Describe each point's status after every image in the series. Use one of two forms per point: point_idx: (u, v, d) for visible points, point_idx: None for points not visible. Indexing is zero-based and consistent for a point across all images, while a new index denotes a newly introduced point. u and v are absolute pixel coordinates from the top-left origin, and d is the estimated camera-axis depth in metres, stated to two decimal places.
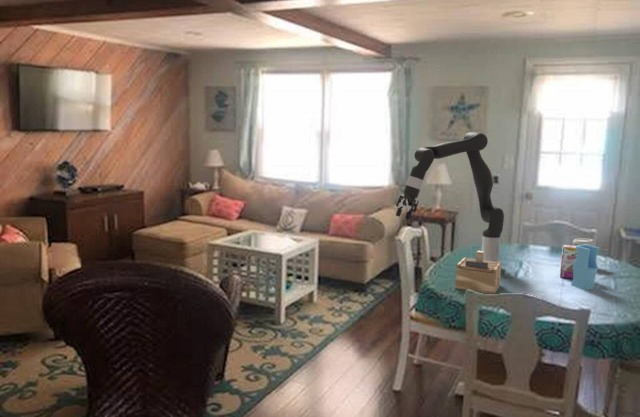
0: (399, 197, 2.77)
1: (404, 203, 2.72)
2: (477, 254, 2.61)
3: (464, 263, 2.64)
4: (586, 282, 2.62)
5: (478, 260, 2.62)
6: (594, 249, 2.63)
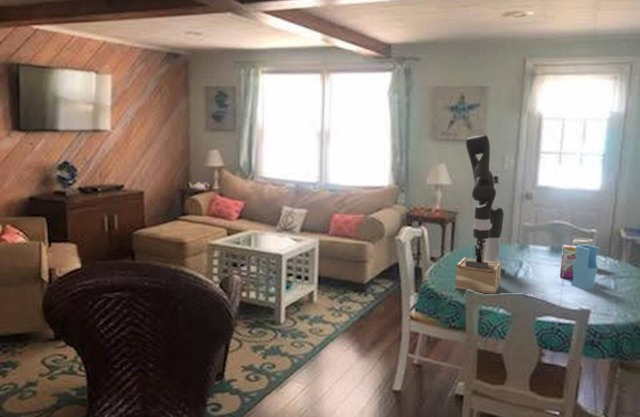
0: (480, 248, 2.56)
1: None
2: None
3: (464, 263, 2.64)
4: (586, 282, 2.62)
5: None
6: (594, 249, 2.63)
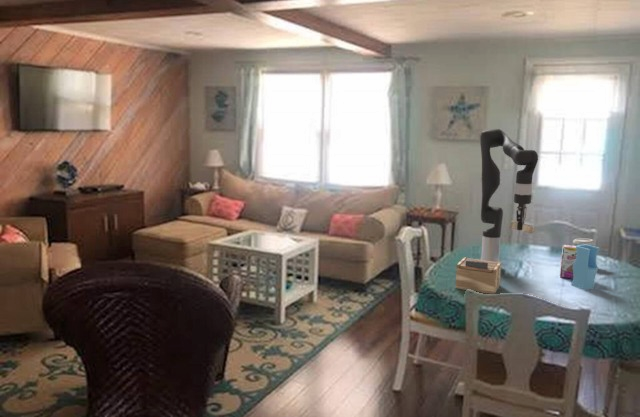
0: (522, 213, 2.51)
1: None
2: (512, 227, 2.58)
3: (464, 263, 2.64)
4: (586, 282, 2.62)
5: None
6: (594, 249, 2.63)
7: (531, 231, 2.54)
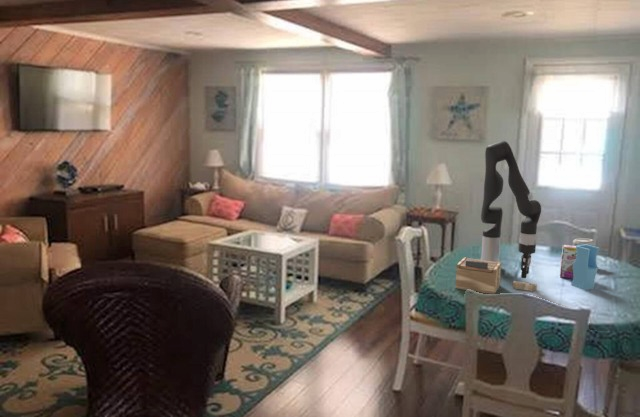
0: (527, 260, 2.54)
1: None
2: (515, 287, 2.63)
3: (464, 263, 2.64)
4: (586, 282, 2.62)
5: (521, 287, 2.62)
6: (594, 249, 2.63)
7: (534, 289, 2.59)
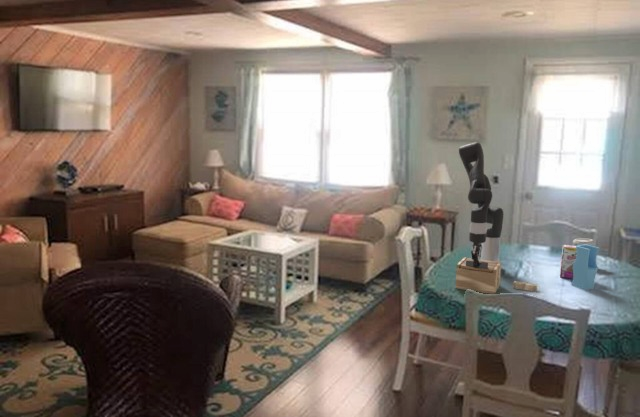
0: (476, 253, 2.49)
1: None
2: (515, 287, 2.63)
3: (464, 263, 2.64)
4: (586, 282, 2.62)
5: (521, 287, 2.62)
6: (594, 249, 2.63)
7: (535, 289, 2.59)
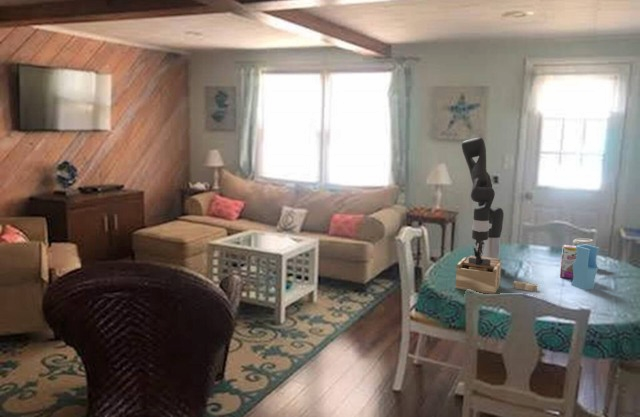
0: (479, 250, 2.54)
1: None
2: (515, 287, 2.63)
3: (467, 260, 2.69)
4: (586, 282, 2.62)
5: (522, 287, 2.62)
6: (594, 249, 2.63)
7: (535, 289, 2.59)
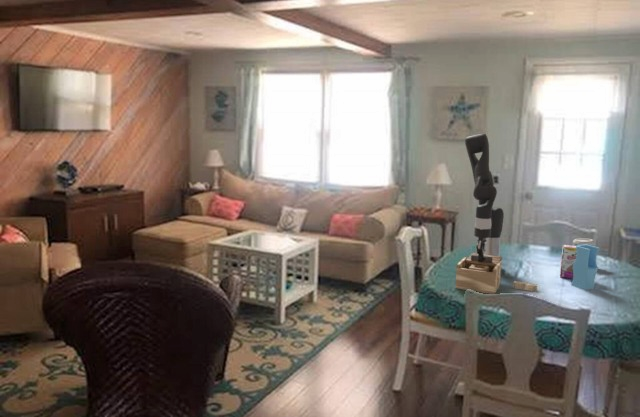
0: (481, 248, 2.58)
1: None
2: (515, 287, 2.63)
3: (469, 258, 2.73)
4: (586, 282, 2.62)
5: (522, 287, 2.62)
6: (594, 249, 2.63)
7: (535, 289, 2.59)
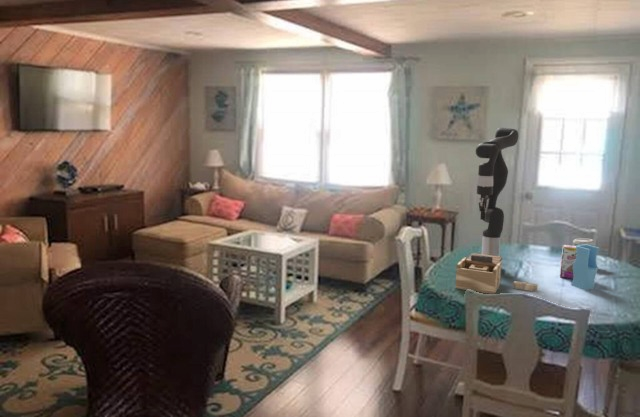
0: (484, 205, 2.64)
1: None
2: (515, 287, 2.63)
3: (469, 258, 2.73)
4: (586, 282, 2.62)
5: (522, 287, 2.62)
6: (594, 249, 2.63)
7: (535, 289, 2.59)
